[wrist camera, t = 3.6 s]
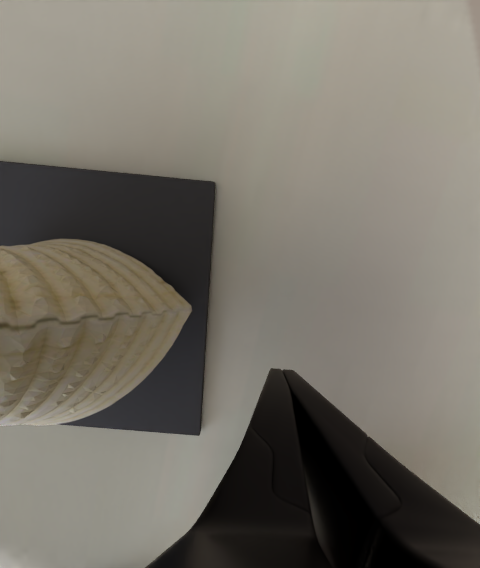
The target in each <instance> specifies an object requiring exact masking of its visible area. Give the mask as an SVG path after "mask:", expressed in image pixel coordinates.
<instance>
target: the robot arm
mask: <svg viewBox="0 0 480 568" xmlns="http://www.w3.org/2000/svg"><path fill="white" fill-rule="evenodd" d="M145 568H480V524H478V523H477V522H476V521H474V520H473V519H472V518H470V517H469V516H468V515H467V514H465V513H464V512H463V511H461V510H460V509H459V508H457V507H456V506H455V505H454V504H452V503H451V502H450V501H448V500H447V499H446V498H444V497H443V496H442V495H441V494H439V493H438V492H437V491H435V490H434V489H433V488H432V487H430V486H429V485H428V484H426V483H425V482H424V481H422V480H421V479H420V478H419V477H417V476H416V475H415V474H414V473H412V472H411V471H410V470H408V469H407V468H406V467H405V466H403V465H402V464H401V463H400V462H398V461H397V460H396V459H395V458H394V457H392V456H391V455H390V454H389V453H388V452H387V451H385V450H384V449H383V448H382V447H381V446H380V445H378V444H377V443H376V442H375V441H374V440H373V439H371V438H370V437H367V434H366V433H365V432H363V431H362V430H361V429H360V428H359V427H358V426H357V425H355V424H354V423H353V422H352V421H351V420H350V419H349V418H347V417H346V416H345V415H344V414H343V413H342V412H341V411H339V410H338V409H337V408H336V407H335V406H334V405H333V404H331V403H330V402H329V401H328V400H327V399H326V398H325V397H323V396H322V395H321V394H320V393H319V392H318V391H317V390H315V389H314V388H313V387H312V386H311V385H310V384H309V383H307V382H306V381H305V380H304V379H303V378H302V377H301V376H299V375H298V374H297V373H296V372H295V371H293V370H285V369H284V370H281V369H273V368H271V369H270V371H269V374H268V376H267V379H266V382H265V384H264V387H263V390H262V392H261V395H260V397H259V400H258V403H257V405H256V408H255V411H254V413H253V416H252V418H251V421H250V424H249V426H248V428H247V431H246V434H245V436H244V439H243V441H242V443H241V446H240V448H239V450H238V452H237V454H236V456H235V458H234V459H233V461H232V463H231V465H230V467H229V468H228V470H227V472H226V474H225V475H224V477H223V479H222V480H221V482H220V484H219V485H218V487H217V489H216V491H215V492H214V494H213V496H212V497H211V499H210V501H209V502H208V504H207V506H206V507H205V509H204V511H203V512H202V514H201V515H200V517H199V518H198V520H197V521H196V523H195V524H194V525H193V526H192V528H191V529H190V530H189V531H188V532H187V533H186V534H185V535H184V536H183V537H181V538H180V539H179V540H178V541H177V542H175V543H174V544H173V545H172V546H171V547H169V548H168V549H167V550H166V551H165V552H163V553H162V554H161V555H160V556H159V557H157V558H156V559H155V560H154V561H153V562H151V563H150V564H149V565H148V566H147V567H145Z"/></svg>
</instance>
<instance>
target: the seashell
mask: <svg viewBox="0 0 480 568" xmlns="http://www.w3.org/2000/svg"><path fill="white" fill-rule="evenodd" d="M191 311H192V307H191V305H190V304H189V303H188V302H187V301H186V300H185V299H184V298H183V297H181V296H180V295H179V294H178V293H177V292H176V291H175V290H174V288H173V287H172V286H171V285H169V284H167V283H165V282H164V281H163V280H162V278H161V277H159V276H158V275H156V274H155V273H154V272H153V270H151V269H150V268H149V267H147V266H146V265H144V264H143V263H142V262H140V261H138V260H137V259H135V258H133V257H131V256H129V255H126V254H124V253H123V252H121V251H119V250H116V249H114V248H111V247H109V246H107V245H104V244H99V243H96V242H92V241H86V240H78V239H54V240H47V241H41V242H37V243H33V244H29V245H16V246H0V426H11V425H22V424H24V425H34V426H43V425H54V424H61V423H67V422H72V421H75V420H79V419H82V418H84V417H87V416H90V415H92V414H94V413H97V412H99V411H101V410H103V409H105V408H107V407H109V406H110V405H112V404H113V403H115V402H116V401H118V400H119V399H121V398H122V397H123V396H125V395H126V394H128V393H129V392H130V391H132V390H133V389H134V388H135V387H136V386H137V385H139V384H140V383H141V382H142V381H143V380H144V379H145V378H146V377H147V376H148V375H149V374H150V373H151V372H152V371H153V369H154V368H155V367H156V366H157V365H158V364H159V362H160V361H161V360H162V359H163V358H164V356H165V355H166V353H167V352H168V350H169V349H170V348H171V346H172V345H173V343H174V341H175V340H176V338H177V336H178V335H179V333H180V331H181V329H182V326H183V325H184V323H185V322H186V320H187V318H188V317H189V315H190V313H191Z"/></svg>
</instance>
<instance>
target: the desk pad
mask: <svg viewBox="0 0 480 568" xmlns="http://www.w3.org/2000/svg"><path fill="white" fill-rule="evenodd" d="M214 200H215V182H211V181H200V180H190V179H180V178H169V177H159V176H149V175H138V174H128V173H118V172H107V171H97V170H86V169H76V168H66V167H55V166H45V165H35V164H24V163H14V162H4V161H0V246H16V245H29V244H33V243H37V242H41V241H47V240H54V239H78V240H86V241H92V242H96V243H99V244H104V245H107V246H109V247H111V248H114V249H116V250H119V251H121V252H123V253H124V254H126V255H129V256H131V257H133V258H135V259H137V260H138V261H140V262H142V263H143V264H144V265H146V266H147V267H149V268H150V269H151V270H153V272H154V273H155V274H156V275H158V276H159V277H161V278H162V280H163V281H164V282H165V283H167V284H169V285H171V286H172V287H173V288H174V290H175V291H176V292H177V293H178V294H179V295H180V296H181V297H183V298H184V299H185V300H186V301H187V302H188V303H189V304H190V305H191V307H192V311H191V313H190V315H189V317H188V318H187V320H186V322H185V323H184V325H183V326H182V329H181V331H180V333H179V335H178V336H177V338H176V340H175V341H174V343H173V345H172V346H171V348H170V349H169V350H168V352H167V353H166V355H165V356H164V358H163V359H162V360H161V361H160V362H159V364H158V365H157V366H156V367H155V368H154V369H153V371H152V372H151V373H150V374H149V375H148V376H147V377H146V378H145V379H144V380H143V381H142V382H141V383H140V384H139V385H137V386H136V387H135V388H134V389H133V390H132V391H130V392H129V393H128V394H126V395H125V396H123V397H122V398H121V399H119V400H118V401H116V402H115V403H113V404H112V405H110V406H109V407H107V408H105V409H103V410H101V411H99V412H97V413H94V414H92V415H90V416H87V417H84V418H82V419H79V420H75V421H72V422H67V423H61V424H60V425H73V426H85V427H98V428H110V429H123V430H135V431H148V432H160V433H173V434H185V435H198V436H199V435H200V431H201V414H202V398H203V381H204V365H205V349H206V332H207V316H208V299H209V283H210V266H211V250H212V233H213V217H214Z"/></svg>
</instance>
